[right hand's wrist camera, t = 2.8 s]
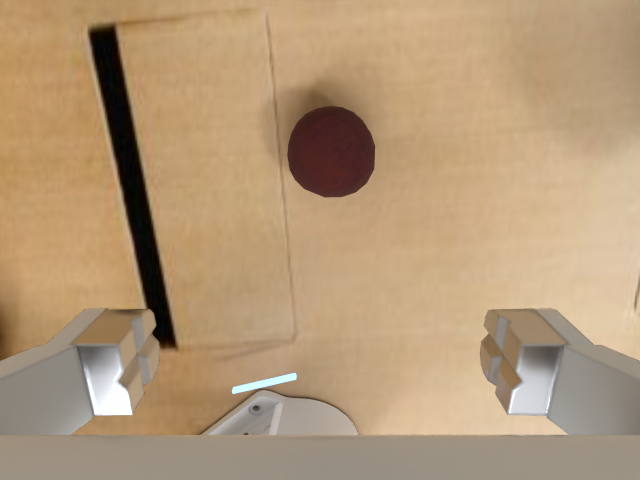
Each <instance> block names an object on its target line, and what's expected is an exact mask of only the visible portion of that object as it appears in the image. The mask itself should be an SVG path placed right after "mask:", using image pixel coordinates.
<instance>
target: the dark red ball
mask: <svg viewBox="0 0 640 480" xmlns="http://www.w3.org/2000/svg"><path fill="white" fill-rule="evenodd" d="M374 160H375V144H374V142H373V139H372V136H371V133H370V131H369V130H368V128H367V127H366V125H365V124H364V122H363V120H362V119H360V118H359V117H358V116H357V115H356V114H355V113H353V112H351V111H349V110H347V109H344V108H342V107H333V106H328V107H323V108H318V109H315V110H313V111H311V112H309V113H307V114H306V115H304V116H303V117H302V118H301V119H300V120H299V121H298V122H297V124H296V126H295V128H294V130H293V131H292V134H291V137H290V141H289V145H288V162H289V168H290V171H291V173H292V175H293V177H294V179H295V180H296V181H297V182H298V183H299V184H300V185H301V186H302V187H303V188H304V189H306V190H308V191H311V192H313V193H315V194H318V195H320V196H323V197H343V196H346V195H349V194H352V193H355V192H357V191H358V190H359V189H360V188H361V187H363V186H364V185H365V184H366V183H367V182H368V180H369V178H370V176H371V174H372V172H373V170H374Z"/></svg>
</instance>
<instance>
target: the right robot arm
mask: <svg viewBox="0 0 640 480" xmlns="http://www.w3.org/2000/svg"><path fill="white" fill-rule="evenodd" d="M155 327H156V322H155V317H154V313H153V312H152V311H151V310H150V309H108V308H95V309H84V310H83V311H82V312H81V313H80V314H79V315H78V316H77V317H75V318H74V319H73V320H72V321H71V322H70V323H69V324H68V325H67V326H66V327H65V328H63V329H62V330H61V331H60V332H59V333H58V334H57V335H56V336H55V337H54V338H53V339H51V340H50V341H49V342H48V343H47V344H46V345H38V346H35V347H33V348H30V349H28V350H25V351H23V352H21V353H18V354H16V355H13V356H11V357H8V358H6V359H4V360H1V361H0V480H640V361H639V360H636V359H634V358H632V357H629V356H627V355H624V354H622V353H619V352H617V351H615V350H612V349H610V348H607V347H605V346H602V345H594V344H593V343H592V342H591V341H590V340H589V339H587V338H586V337H585V336H584V335H583V334H582V333H581V332H580V331H579V330H578V329H577V328H576V327H574V326H573V325H572V324H571V323H570V322H569V321H568V320H567V319H566V318H565V317H564V316H562V315H561V314H560V313H559V312H558V311H557V310H555V309H552V308H541V309H496V310H488V312H487V314H486V316H485V322H484V327H485V328H486V330H487V331H488V333H489V334H488V335H487V336H486V337H485V338H484V339H483V340H482V341H481V348H480V360H481V366H482V369H483V373H484V375H485V376H486V378H487V380H488V381H489V382H491V383H493V384H494V385H496V386H497V387H496V393H495V394H496V396H497V397H498V399H499V401H500V402H501V404H502V406H503V408H504V409H505V411H506V413H507V414H508V415H533V416H547V417H546V418H548V419H549V420H550V421H552V422H553V423H554V424H556V425H557V426H558V427H560V428H561V429H562V430H564V431H565V432H566V433H568V434H569V435H358V432H357V429H356V427H355V426H354V424H353V423H352V421H351V420H350V419H349V418H348V417H347V416H346V415H345V414H344V413H343V412H341V411H340V410H338V409H337V408H335V407H333V406H331V405H329V404H327V403H324V402H321V401H317V400H312V399H304V398H289V397H285V396H282V395H280V394H277V393H274V392H272V391H268V390H260V391H258V392H256V393H255V394H254V395H252V396H251V397H250V398H248V399H247V400H246V401H244V402H243V403H242V404H240V405H239V406H238V407H236V408H235V409H234V410H233V411H231V412H230V413H229V414H227V415H226V416H225V417H223V418H222V419H221V420H219V421H218V422H217V423H215V424H214V425H213V426H212V427H210V428H209V429H208V430H206V431H205V432H204V433H202V434H201V435H71V434H73V433H74V432H75V431H77V430H78V429H79V428H81V427H82V426H83V425H84V424H86V423H87V422H88V421H90V420H91V419H92V418H93V416H107V415H132V414H133V413H134V411H135V409H136V408H137V406H138V404H139V402H140V401H141V399H142V397H143V396H144V394H145V393H144V387H143V386H144V385H146V384H147V383H149V382H151V381H152V380H153V378H154V376H155V374H156V373H157V369H158V365H159V361H160V347H159V341H158V340H157V339H156V338H155V337H154V336H153V335H152V334H151V333H152V331H153V330H154V328H155ZM295 379H296V373H293V374H289V375H285V376H280V377H276V378H272V379H267V380H263V381H259V382H254V383H250V384H246V385H241V386H237V387H233V390H232V392H233V394H234V393H239V392H243V391H247V390H252V389H256V388H261V387H265V386H269V385H274V384H278V383H282V382H287V381H291V380H295ZM255 406H259V407H255Z"/></svg>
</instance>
